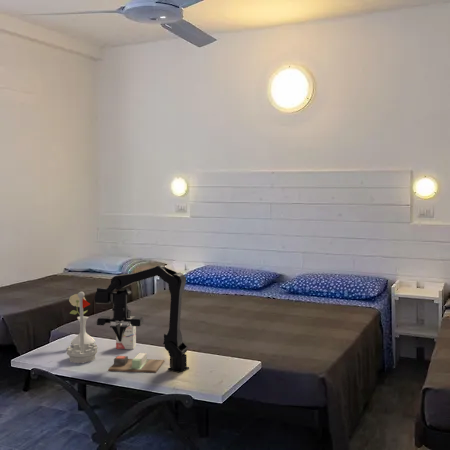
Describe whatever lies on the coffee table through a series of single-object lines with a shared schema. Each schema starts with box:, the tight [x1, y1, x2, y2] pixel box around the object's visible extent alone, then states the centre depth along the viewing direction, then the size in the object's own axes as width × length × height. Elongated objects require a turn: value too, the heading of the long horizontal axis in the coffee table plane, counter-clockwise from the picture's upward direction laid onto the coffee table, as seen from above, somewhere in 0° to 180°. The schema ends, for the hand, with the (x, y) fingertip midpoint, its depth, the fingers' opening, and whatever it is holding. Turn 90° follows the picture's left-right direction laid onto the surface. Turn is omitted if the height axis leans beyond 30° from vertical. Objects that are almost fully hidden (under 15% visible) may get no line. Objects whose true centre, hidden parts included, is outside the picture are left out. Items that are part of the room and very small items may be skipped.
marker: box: [132, 352, 148, 368], centre depth 237 cm, size 11×3×3 cm, turn 173°
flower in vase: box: [68, 293, 96, 347], centre depth 269 cm, size 13×11×25 cm
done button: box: [115, 355, 127, 359], centre depth 238 cm, size 3×3×2 cm
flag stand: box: [66, 291, 98, 364], centre depth 247 cm, size 13×13×30 cm
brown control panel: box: [107, 355, 165, 373], centre depth 237 cm, size 20×15×3 cm
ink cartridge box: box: [115, 315, 137, 350], centre depth 266 cm, size 9×5×15 cm, turn 84°
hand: (120, 341), depth 238 cm, fingers closed
